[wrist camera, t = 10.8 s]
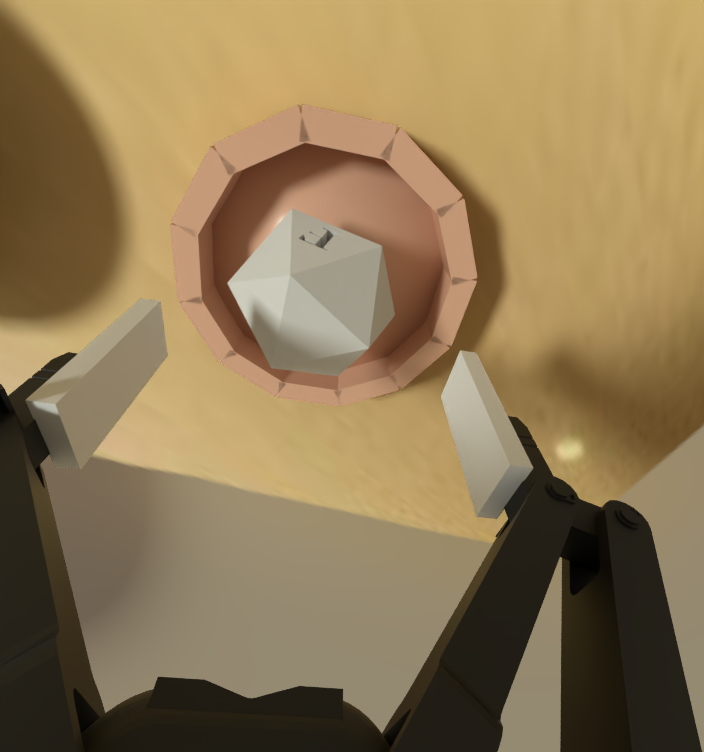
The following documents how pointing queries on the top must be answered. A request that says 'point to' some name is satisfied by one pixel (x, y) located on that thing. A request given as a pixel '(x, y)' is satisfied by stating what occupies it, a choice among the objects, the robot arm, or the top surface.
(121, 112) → the top surface
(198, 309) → the tray
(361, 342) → the die
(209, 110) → the top surface
